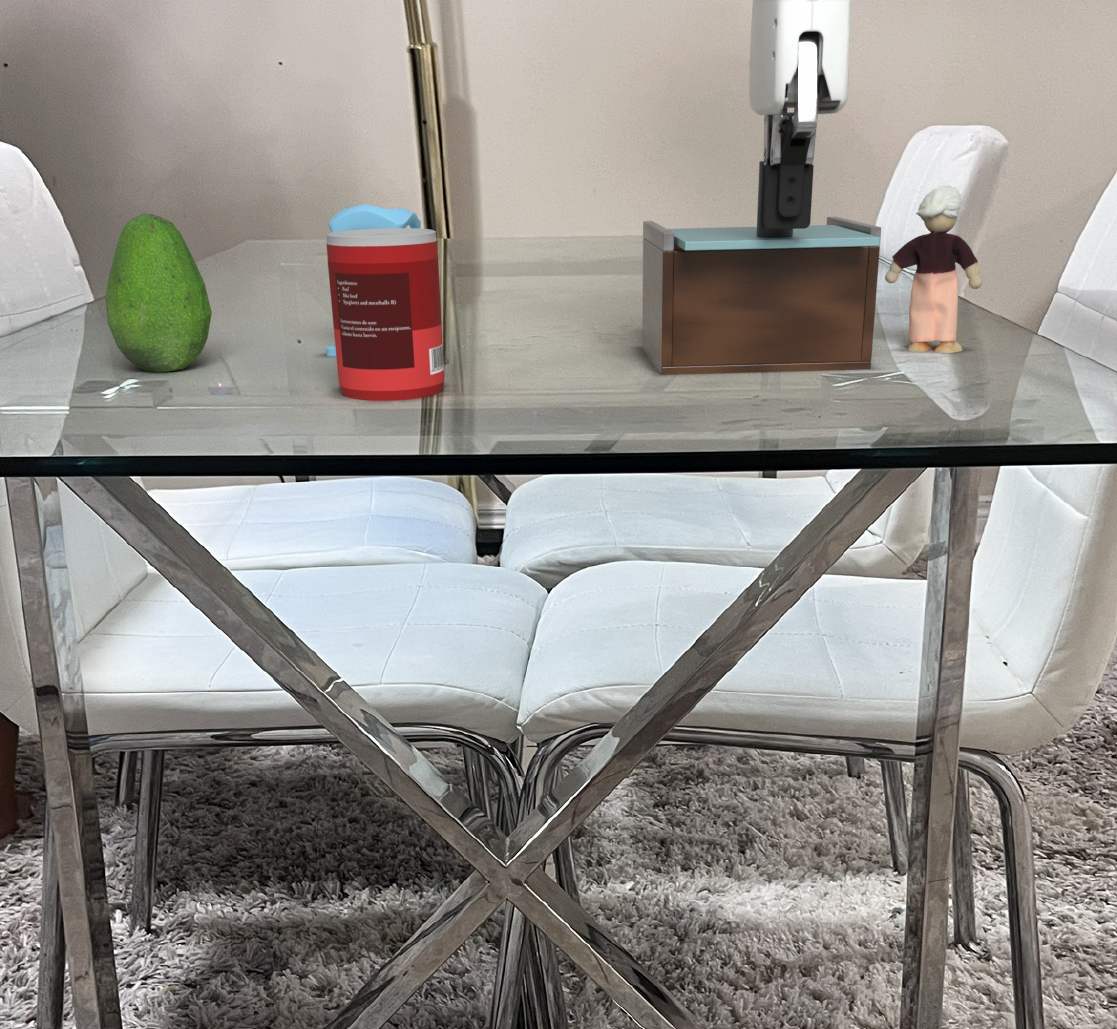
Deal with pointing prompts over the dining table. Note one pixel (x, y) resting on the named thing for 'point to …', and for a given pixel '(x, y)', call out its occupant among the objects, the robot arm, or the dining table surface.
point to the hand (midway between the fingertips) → (784, 227)
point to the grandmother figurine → (936, 272)
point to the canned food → (386, 313)
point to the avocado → (156, 297)
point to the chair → (371, 225)
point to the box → (758, 306)
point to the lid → (769, 236)
